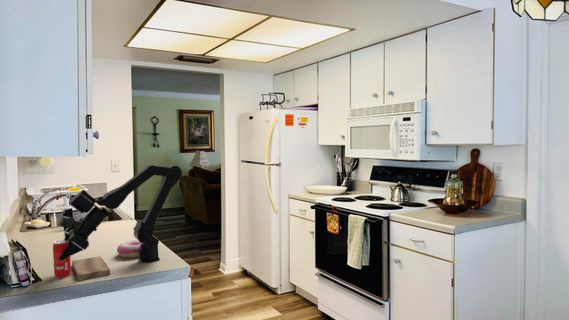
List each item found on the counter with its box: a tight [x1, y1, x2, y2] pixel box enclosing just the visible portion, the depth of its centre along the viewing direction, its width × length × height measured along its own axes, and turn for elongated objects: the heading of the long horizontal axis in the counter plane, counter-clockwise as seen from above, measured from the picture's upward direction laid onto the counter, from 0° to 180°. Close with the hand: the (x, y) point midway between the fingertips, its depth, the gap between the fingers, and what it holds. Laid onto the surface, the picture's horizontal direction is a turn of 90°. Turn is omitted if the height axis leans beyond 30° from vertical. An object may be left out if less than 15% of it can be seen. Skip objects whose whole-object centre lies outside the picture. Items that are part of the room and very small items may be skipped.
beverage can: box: [52, 239, 72, 279], centre depth 142 cm, size 5×5×12 cm
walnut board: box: [71, 255, 111, 281], centre depth 148 cm, size 10×20×2 cm, turn 33°
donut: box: [116, 239, 142, 258], centre depth 167 cm, size 14×13×5 cm
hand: (58, 256), depth 141 cm, fingers open, 9 cm apart
